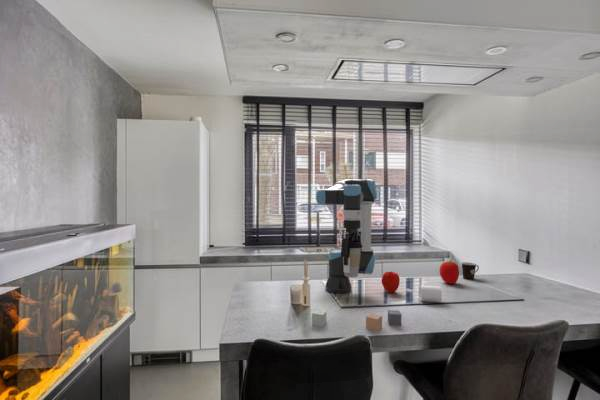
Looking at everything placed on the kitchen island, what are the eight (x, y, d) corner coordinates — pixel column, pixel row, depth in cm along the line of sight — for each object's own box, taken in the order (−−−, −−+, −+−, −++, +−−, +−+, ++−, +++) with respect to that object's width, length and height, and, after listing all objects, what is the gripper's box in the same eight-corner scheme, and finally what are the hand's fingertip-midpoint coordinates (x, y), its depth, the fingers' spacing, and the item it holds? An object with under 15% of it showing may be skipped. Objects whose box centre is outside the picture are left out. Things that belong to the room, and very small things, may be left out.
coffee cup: (338, 273, 158) (339, 240, 157) (359, 272, 159) (359, 240, 158) (343, 278, 148) (343, 243, 148) (364, 278, 149) (365, 243, 149)
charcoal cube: (389, 325, 148) (389, 314, 148) (387, 321, 153) (387, 310, 153) (401, 326, 148) (401, 314, 148) (399, 321, 153) (399, 310, 152)
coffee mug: (463, 279, 226) (463, 264, 226) (459, 276, 235) (460, 262, 235) (482, 280, 225) (482, 265, 224) (478, 277, 233) (478, 262, 233)
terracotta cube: (366, 328, 145) (366, 316, 145) (371, 324, 149) (371, 313, 149) (377, 331, 142) (377, 319, 142) (382, 327, 146) (382, 315, 146)
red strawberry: (462, 286, 212) (463, 263, 211) (443, 285, 212) (444, 262, 212) (453, 280, 224) (454, 259, 224) (436, 280, 224) (436, 258, 224)
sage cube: (311, 324, 148) (312, 313, 148) (315, 320, 153) (315, 309, 153) (323, 326, 146) (323, 314, 146) (326, 322, 151) (326, 311, 151)
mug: (441, 304, 176) (442, 289, 176) (421, 303, 178) (421, 287, 178) (437, 297, 188) (437, 283, 188) (418, 296, 190) (418, 281, 190)
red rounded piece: (380, 293, 194) (380, 272, 194) (382, 289, 204) (383, 268, 203) (398, 295, 191) (398, 273, 190) (400, 291, 200) (400, 270, 200)
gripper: (348, 221, 142) (347, 276, 143) (369, 218, 159) (369, 267, 160) (332, 220, 147) (332, 273, 147) (355, 217, 164) (354, 265, 164)
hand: (351, 270), depth 153 cm, fingers closed on coffee cup, 8 cm apart
